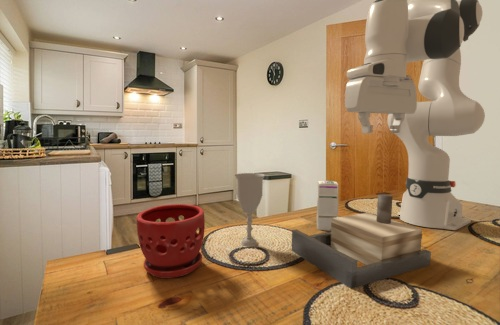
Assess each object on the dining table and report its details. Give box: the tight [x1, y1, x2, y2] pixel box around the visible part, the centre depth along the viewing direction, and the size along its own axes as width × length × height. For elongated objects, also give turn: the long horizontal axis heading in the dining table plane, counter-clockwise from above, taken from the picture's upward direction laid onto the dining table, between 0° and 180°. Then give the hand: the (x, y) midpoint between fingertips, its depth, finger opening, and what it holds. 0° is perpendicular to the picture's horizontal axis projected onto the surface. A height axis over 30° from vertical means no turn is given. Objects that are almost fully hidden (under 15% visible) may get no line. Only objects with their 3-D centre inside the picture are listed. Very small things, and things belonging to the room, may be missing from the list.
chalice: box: [234, 172, 266, 248], centre depth 68 cm, size 7×7×18 cm
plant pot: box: [136, 203, 206, 279], centre depth 58 cm, size 13×13×12 cm
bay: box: [291, 229, 432, 290], centre depth 61 cm, size 22×18×6 cm
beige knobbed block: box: [330, 193, 423, 265], centre depth 63 cm, size 12×14×13 cm
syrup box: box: [316, 180, 340, 232], centre depth 82 cm, size 6×6×14 cm
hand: (381, 133), depth 66 cm, fingers open, 8 cm apart
